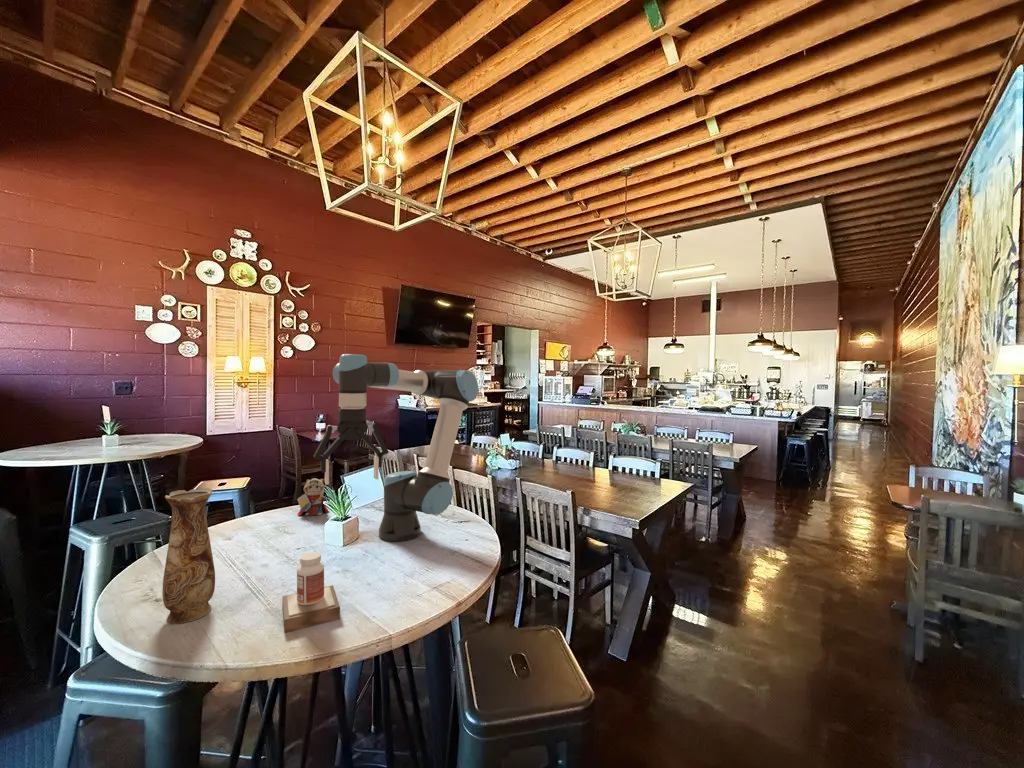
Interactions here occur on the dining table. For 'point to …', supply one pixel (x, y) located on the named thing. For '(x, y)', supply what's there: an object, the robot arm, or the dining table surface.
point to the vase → (188, 558)
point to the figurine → (312, 498)
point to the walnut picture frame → (310, 611)
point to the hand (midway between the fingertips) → (352, 480)
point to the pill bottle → (310, 579)
